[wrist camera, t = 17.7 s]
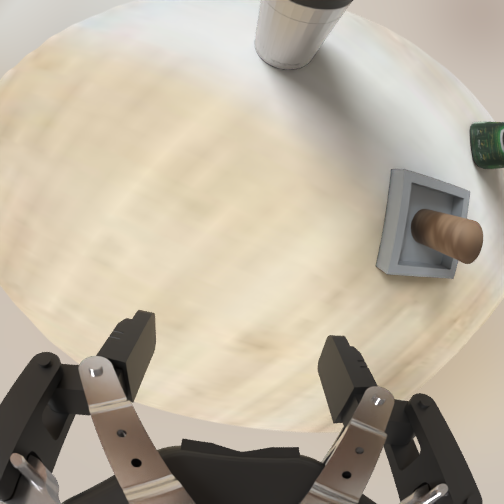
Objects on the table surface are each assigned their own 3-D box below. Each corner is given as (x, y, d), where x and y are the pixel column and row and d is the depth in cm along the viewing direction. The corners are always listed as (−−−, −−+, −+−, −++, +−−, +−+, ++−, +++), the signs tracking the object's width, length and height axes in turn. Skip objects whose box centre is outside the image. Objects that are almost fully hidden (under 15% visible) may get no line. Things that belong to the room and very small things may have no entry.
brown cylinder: (414, 206, 39) (462, 217, 27) (438, 211, 39) (486, 224, 28) (407, 241, 40) (453, 262, 29) (432, 245, 41) (477, 265, 29)
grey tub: (391, 169, 38) (404, 169, 34) (456, 189, 39) (470, 191, 35) (375, 266, 42) (387, 274, 38) (441, 271, 43) (453, 278, 39)
